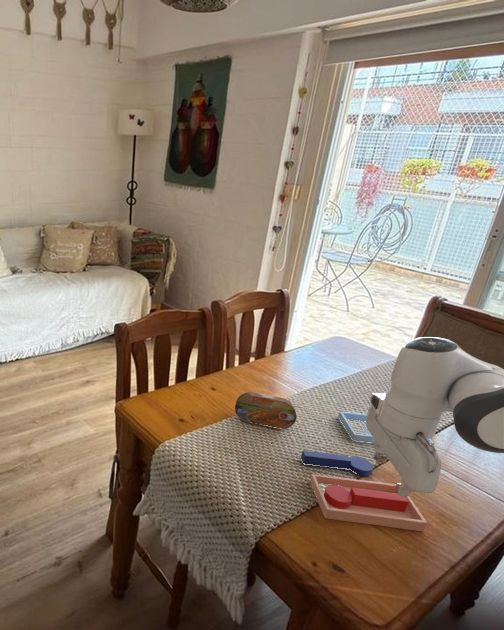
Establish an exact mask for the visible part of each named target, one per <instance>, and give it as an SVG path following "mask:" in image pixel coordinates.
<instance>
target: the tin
mask: <svg viewBox="0 0 504 630" xmlns="http://www.w3.org/2000/svg"><path fill="white" fill-rule="evenodd" d="M234 411H235V414H236V416H237V417H238V419H240V420H241V421H242V422H243V423H247V424H250V425H255V426H260V427H265V428H269V429H274V430H277V429H276V428H272V427H277V428H282V430H287V429H289V428H291V427H292V426H294V425H295V423H296V422H297V418H298V417H297V410H296V407H295V406H294V404H293V403H292V402H291V401H290V400H288V399H287V398H284V397H281V396H275V395H269V394H265V393H259V392H254V391H248V392H244V393H241V394H240V395H239V396H238V397H237V399H236V401H235V404H234ZM250 422H252V423H250ZM255 423H257V424H255ZM259 424H262V425H259ZM263 425H268V426H272V427H267V426H263ZM278 430H281V429H278Z"/></svg>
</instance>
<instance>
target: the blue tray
mask: <svg viewBox="0 0 504 630" xmlns="http://www.w3.org/2000/svg"><path fill="white" fill-rule="evenodd" d="M338 417H339V418H340V420H341V422H342V423H343V425H344V426H345V428H346V430H347V431H346V430H345V428H344V427H343V425H342V423H341V422H340V420H339V419H338ZM338 417H337V420H338V422H339V423H340V424H341V426H342V428H343V430H344V431H345V433H346V434H347V436H348V438H349V439H350V442H352V443H355V444H356V443H357V444H366V445H374V438H373V436H372V435H371V433H370V432H369V431H368V429H366V428H365V426H364V428H363V429H364V430H363V431H364V432H363V433H364V434H365V435H364V434H356V433H355V431H356V430H355V431H354V430H353V428H352V427H351V425H350V424H349V422H348V420H347V419H353V420H358V421H359V420H360V421H363V422H364V421H366V418H367V413H359V412H350V411H349V412H348V411H339V413H338ZM364 423H365V422H364ZM366 427H367V426H366ZM357 430H358V429H357ZM347 432H348V433H349V435H350V436H351V438H352V439H353V440H356V441H364V442H356V441H352V440H351V438H350V436H349V435H348V433H347ZM358 432H359V431H358ZM366 432H367V434H368V435H367V434H366ZM428 440H429V442H430V443H431V444H432V445H433V446H434V445H435V442H434V441H433V440H432V438H431V439H428ZM365 442H372V443H365ZM434 447H435V446H434Z"/></svg>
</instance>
